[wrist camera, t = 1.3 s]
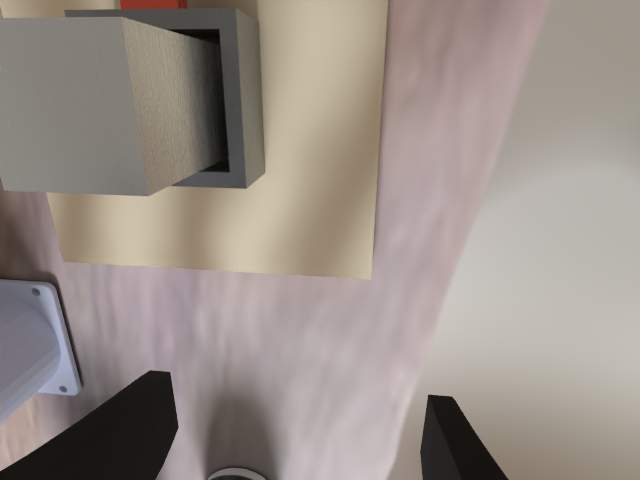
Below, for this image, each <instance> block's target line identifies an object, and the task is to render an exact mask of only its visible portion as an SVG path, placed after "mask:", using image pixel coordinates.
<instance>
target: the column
mask: <svg viewBox="0 0 640 480" xmlns="http://www.w3.org/2000/svg"><path fill="white" fill-rule="evenodd" d="M227 157H229V153H228V139H227V126H226V112H225V99H224V85H223V72H222V58H221V46H220V45H216V44H213V43H210V42H206V41H203V40H199V39H196V38H192V37H189V36H186V35H182V34H179V33H175V32H172V31H168V30H165V29H162V28H158V27H155V26H151V25H148V24H144V23H141V22H138V21H134V20H131V19H127V18H124V17H44V18H0V178H1V182H2V185H3V189H4V191H21V192H47V193H73V194H99V195H125V196H150V195H152V194H154V193H156V192H158V191H160V190H162V189H165V188H167V187H169V186H171V185H173V184H175V183H177V182H179V181H181V180H183V179H185V178H187V177H189V176H191V175H193V174H195V173H197V172H199V171H201V170H203V169H205V168H207V167H209V166H211V165H213V164H215V163H217V162H219V161H221V160H223V159H225V158H227Z"/></svg>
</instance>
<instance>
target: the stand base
mask: <svg viewBox="0 0 640 480" xmlns="http://www.w3.org/2000/svg"><path fill="white" fill-rule="evenodd" d="M187 6H188V8H237V9H238V10H240V11H242V12H243V13H245V14H246V15H248V16H250V17H251V18H253V19H255V20H256V21H258V22H259V32H260V56H261V80H262V104H263V128H264V153H265V174H264V175H262V176H261V177H260V178H259V179H258V180H257V181H255V182H254V183H253V184H252V185H251V186H249V187H248V188H247V189H236V188H208V187H180V186H169V187H167V188H165V189H162V190H160V191H158V192H156V193H154V194H152V195H150V196H125V195H99V194H73V193H47V192H46V193H47V198H48V202H49V206H50V210H51V214H52V218H53V222H54V226H55V230H56V234H57V238H58V242H59V246H60V250H61V254H62V258H63V262H79V263H96V264H113V265H131V266H148V267H166V268H183V269H201V270H218V271H236V272H253V273H271V274H288V275H306V276H323V277H341V278H358V279H371V273H372V256H373V240H374V224H375V208H376V191H377V175H378V159H379V142H380V126H381V110H382V94H383V77H384V61H385V45H386V28H387V12H388V0H187ZM0 7H1V11H2V15H3V18H44V17H65V12H64V10H97V9H121V5H120V0H0ZM199 40H203V41H206V42H210V43H213V44H216V45H220V39H199ZM220 46H221V45H220ZM225 159H229V157H227V158H225Z"/></svg>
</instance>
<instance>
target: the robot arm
mask: <svg viewBox="0 0 640 480" xmlns="http://www.w3.org/2000/svg"><path fill="white" fill-rule="evenodd" d="M37 289H38V290H39V291H40V292H39V291H38V290H37ZM81 389H82V387H81V383H80V379H79V375H78V371H77V368H76V364H75V360H74V356H73V352H72V348H71V345H70V341H69V337H68V333H67V329H66V325H65V322H64V318H63V314H62V310H61V306H60V302H59V299H58V295H57V291H56V288H55V287H54V286H53V285H52V284H51V283H48V282H36V281H20V280H4V279H0V425H1V424H2V423H3V422H4V421H5V420H6V419H7V418H9V417H10V416H11V415H12V414H13V413H14V412H15V411H16V410H17V409H18V408H19V407H20V406H22V405H23V404H24V403H25V402H26V401H27V400H28V399H29V398H30V397H31V396H32V395H34V394H35V393H36V392H40V393H50V394H61V395H72V396H74V395H77V394H78V393H79V392H80V391H81ZM177 430H178V420H177V414H176V407H175V401H174V394H173V388H172V381H171V375H170V372H163V371H151V370H150V371H148V372H147V373H145V374H144V375H142V376H141V377H139V378H138V379H137V380H135V381H134V382H132V383H131V384H130V385H128V386H127V387H126V388H124V389H123V390H121V391H120V392H119V393H117V394H116V395H115V396H113V397H112V398H110V399H109V400H108V401H106V402H105V403H104V404H102V405H101V406H99V407H98V408H97V409H95V410H94V411H92V412H91V413H90V414H88V415H87V416H85V417H84V418H83V419H81V420H80V421H78V422H77V423H75V424H74V425H72V426H71V427H69V428H68V429H66V430H65V431H63V432H62V433H60V434H59V435H57V436H56V437H54V438H53V439H51V440H50V441H48V442H47V443H45V444H44V445H42V446H41V447H39V448H38V449H36V450H35V451H33V452H31V453H30V454H28V455H27V456H25V457H23V458H22V459H20V460H19V461H17V462H15V463H14V464H12V465H10V466H9V467H7V468H5V469H3V470H2V471H0V480H155V479H156V477H157V475H158V473H159V472H160V470H161V468H162V466H163V464H164V462H165V459H166V457H167V455H168V452H169V450H170V448H171V445H172V443H173V440H174V438H175V435H176V432H177ZM420 453H421V463H422V475H423V480H508V478H507V477H506V476H505V474H504V473H503V471H502V470H501V469H500V467H499V466H498V464H497V463H496V462H495V460H494V459H493V458H492V456H491V455H490V453H489V452H488V450H487V449H486V448H485V446H484V445H483V443H482V442H481V440H480V439H479V437H478V436H477V434H476V433H475V431H474V430H473V428H472V427H471V425H470V423H469V422H468V420H467V419H466V417H465V416H464V414H463V412H462V411H461V409H460V407H459V406H458V404H457V403H456V401H455V400H454V399H453V398H452V397H449V396H437V395H428V401H427V408H426V415H425V423H424V430H423V437H422V444H421V451H420Z"/></svg>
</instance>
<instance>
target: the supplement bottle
mask: <svg viewBox="0 0 640 480" xmlns="http://www.w3.org/2000/svg"><path fill="white" fill-rule="evenodd" d="M208 480H266V479H265V478H264V477H262V476H261V475H259V474H257V473H255V472H253V471H250V470H247V469H243V468H227V469H223V470H220V471H218V472H216V473H214V474H213V475H211V476H210V477H209V478H208Z"/></svg>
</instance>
